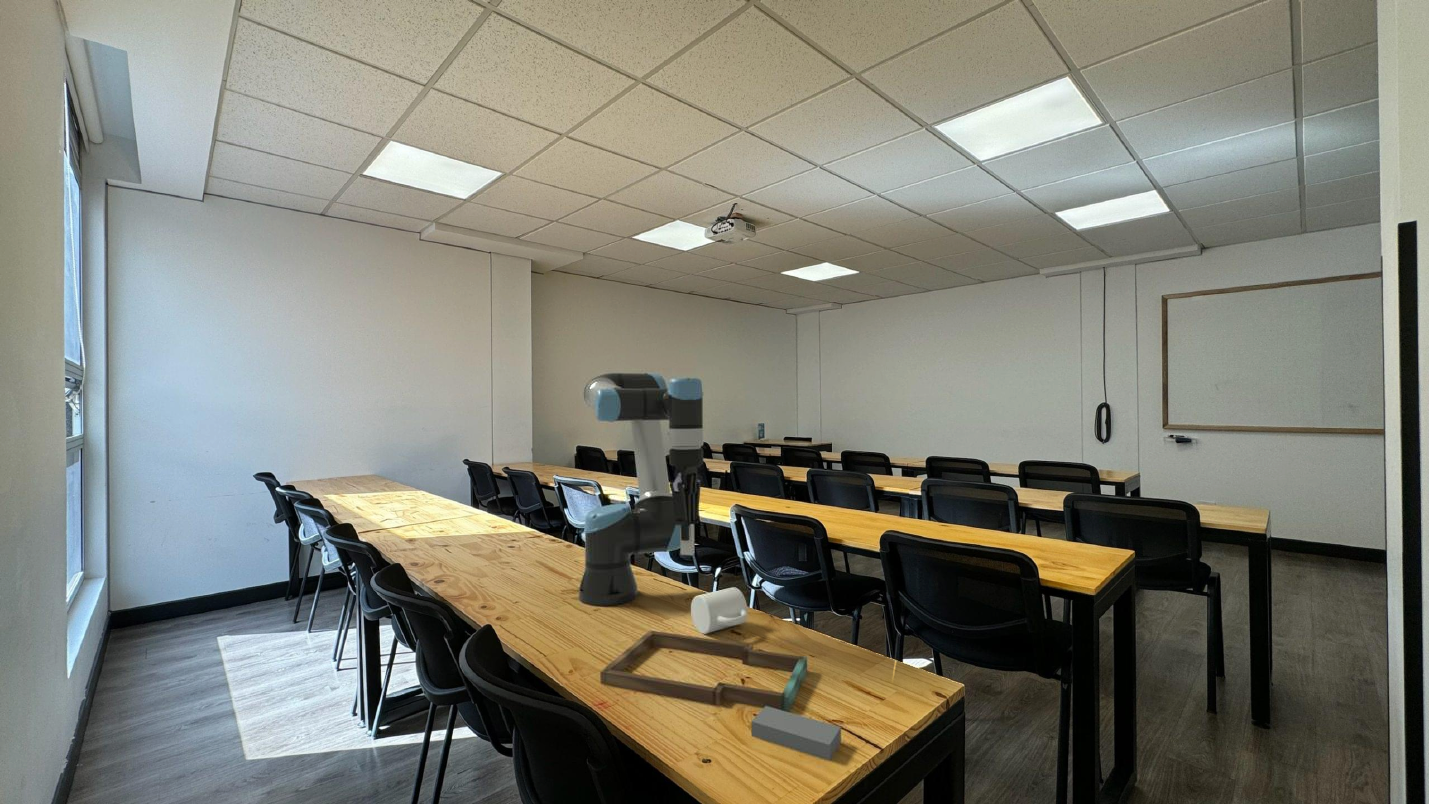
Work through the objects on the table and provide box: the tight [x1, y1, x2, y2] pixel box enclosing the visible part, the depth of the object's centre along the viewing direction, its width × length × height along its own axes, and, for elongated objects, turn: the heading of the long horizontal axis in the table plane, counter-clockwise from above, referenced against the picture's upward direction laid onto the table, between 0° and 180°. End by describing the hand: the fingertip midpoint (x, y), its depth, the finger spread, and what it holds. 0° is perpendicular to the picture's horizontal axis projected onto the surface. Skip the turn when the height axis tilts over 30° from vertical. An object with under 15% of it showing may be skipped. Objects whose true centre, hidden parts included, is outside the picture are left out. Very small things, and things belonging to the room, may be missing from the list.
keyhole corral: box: [599, 630, 808, 712], centre depth 105 cm, size 19×33×2 cm, turn 70°
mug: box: [690, 586, 749, 635], centre depth 126 cm, size 12×10×8 cm
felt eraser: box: [750, 706, 842, 761], centre depth 84 cm, size 12×5×3 cm, turn 60°
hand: (687, 554), depth 127 cm, fingers closed
